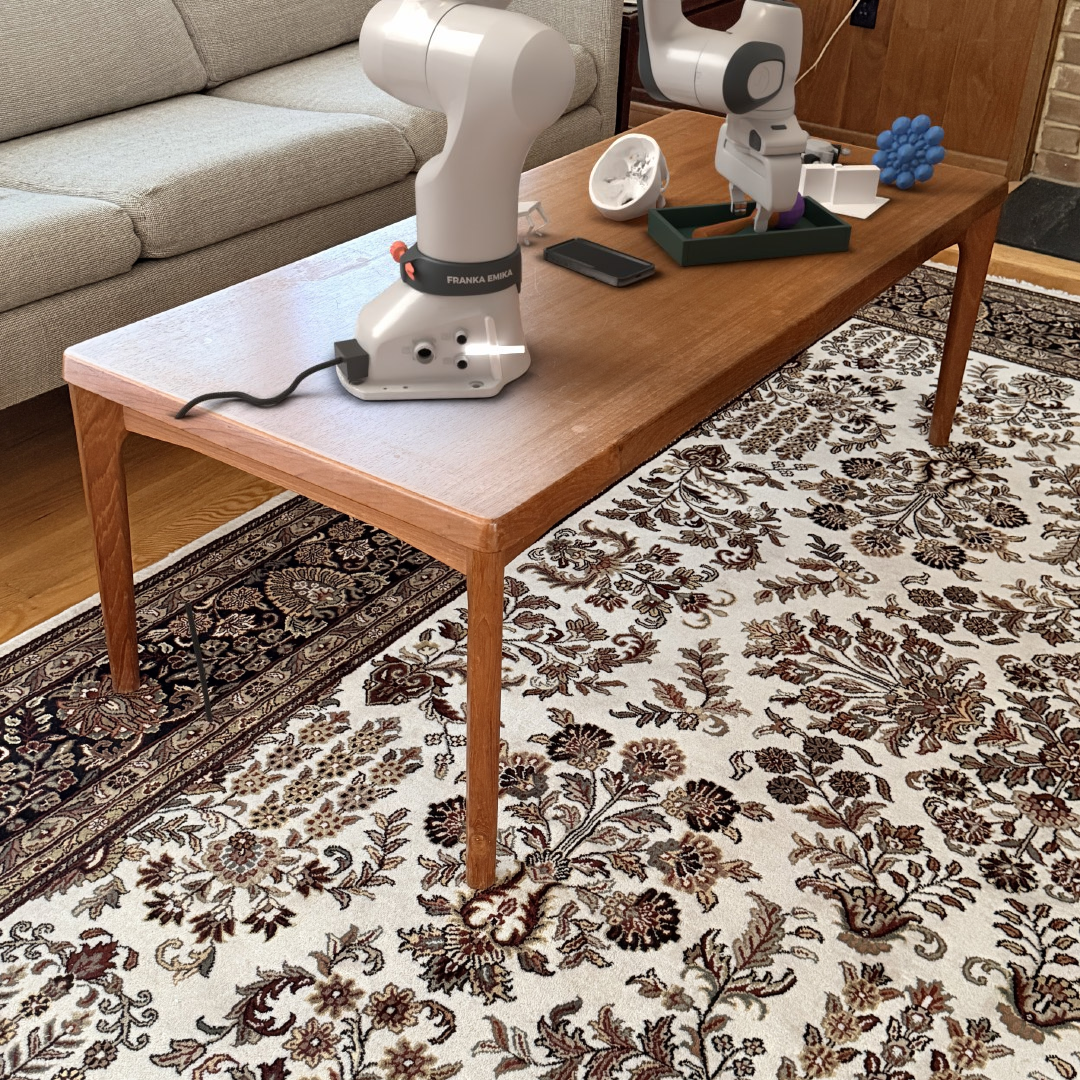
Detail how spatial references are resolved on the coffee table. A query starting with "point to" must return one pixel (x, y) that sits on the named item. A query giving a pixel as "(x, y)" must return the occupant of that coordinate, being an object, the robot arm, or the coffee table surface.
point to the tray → (744, 234)
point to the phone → (599, 261)
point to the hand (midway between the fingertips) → (748, 222)
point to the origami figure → (526, 209)
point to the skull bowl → (629, 178)
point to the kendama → (733, 227)
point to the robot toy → (821, 152)
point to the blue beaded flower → (909, 151)
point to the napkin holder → (842, 188)
